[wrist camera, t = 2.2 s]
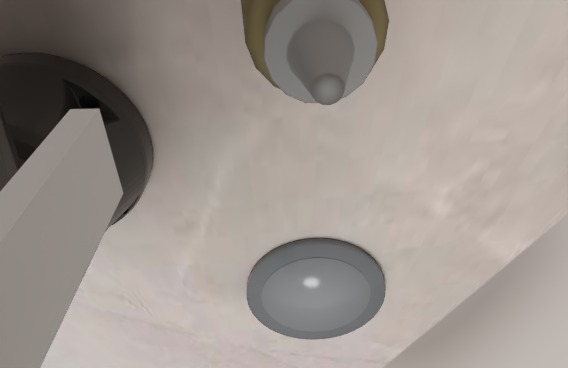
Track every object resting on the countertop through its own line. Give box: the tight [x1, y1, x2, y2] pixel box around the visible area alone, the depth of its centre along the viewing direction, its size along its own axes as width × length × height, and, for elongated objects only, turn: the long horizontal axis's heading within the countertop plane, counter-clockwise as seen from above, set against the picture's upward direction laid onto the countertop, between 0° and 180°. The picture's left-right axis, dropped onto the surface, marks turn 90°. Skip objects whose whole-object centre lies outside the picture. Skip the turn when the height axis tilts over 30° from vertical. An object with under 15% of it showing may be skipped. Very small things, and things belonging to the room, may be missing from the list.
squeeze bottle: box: [241, 0, 389, 105], centre depth 23 cm, size 8×8×18 cm
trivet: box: [247, 238, 385, 339], centre depth 47 cm, size 14×14×1 cm
